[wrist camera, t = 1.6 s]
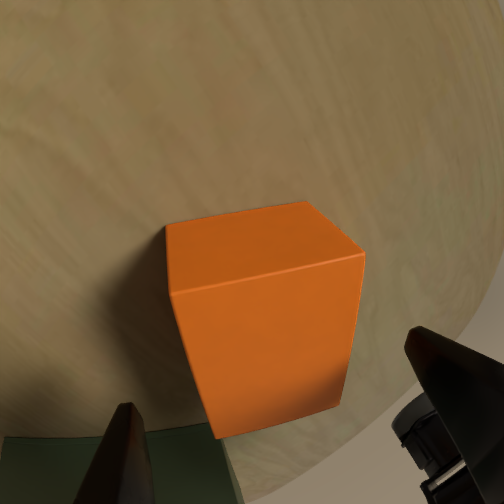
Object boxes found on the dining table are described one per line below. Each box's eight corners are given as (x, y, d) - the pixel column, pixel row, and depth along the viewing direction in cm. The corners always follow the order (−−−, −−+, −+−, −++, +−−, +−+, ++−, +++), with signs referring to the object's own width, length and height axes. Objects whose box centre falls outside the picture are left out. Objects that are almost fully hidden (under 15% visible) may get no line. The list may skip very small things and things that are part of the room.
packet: (306, 200, 11) (367, 252, 8) (304, 341, 15) (339, 405, 11) (164, 224, 10) (168, 294, 7) (199, 366, 14) (215, 440, 11)
